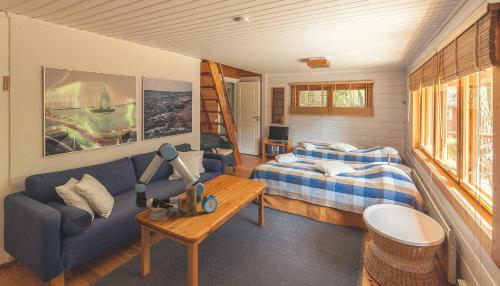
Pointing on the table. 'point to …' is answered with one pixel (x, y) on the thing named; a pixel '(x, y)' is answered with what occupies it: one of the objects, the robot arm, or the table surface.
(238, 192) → the table surface
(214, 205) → the alarm clock
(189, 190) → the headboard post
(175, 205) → the robot arm
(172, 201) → the rail end
